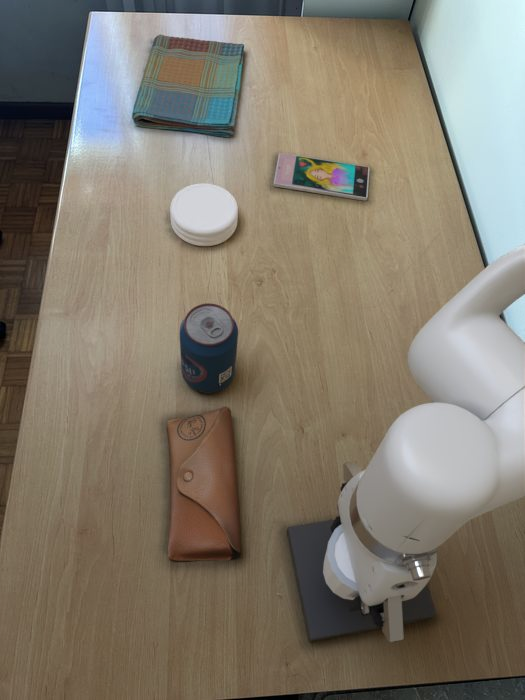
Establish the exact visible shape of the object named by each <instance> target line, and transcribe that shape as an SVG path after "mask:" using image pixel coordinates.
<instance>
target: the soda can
mask: <svg viewBox="0 0 525 700" xmlns="http://www.w3.org/2000/svg"><path fill="white" fill-rule="evenodd" d="M238 340H239V328H238V324H237V322H236V321H235V318H234V317H233V316H232V314H231V313H230V311H229V310H227V309H226V308H225V307H224V306H222V305H219V304H217V303H210V302H209V303H201V304H199V305H196V306H194V307H193V308H191V309H190V310H189V311H188V312H187V314H186V316H185V317H184V318H183V320H182V321H181V322H180V326H179V348H180V351H179V352H180V368H181V375H182V378H183V381H184V382H185V383H186V384H187V385H188V386H189V387H190V388H191V389H193V390H195V391H197V392H200V393H204V394H205V393H208V394H209V393H210V394H211V393H217V392H220V391H222V390H224V389H225V388H227V387H228V386H229V385H230V384H231V383H232V381H233V380H234V377H235V375H236V368H237V367H236V365H237V352H238Z"/></svg>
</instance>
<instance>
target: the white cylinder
mask: <svg viewBox="0 0 525 700" xmlns="http://www.w3.org/2000/svg"><path fill="white" fill-rule="evenodd" d="M323 574H324V578H325V581H326V584H327V585H328V586H329V588H330V589H331V590H332V591H333V593H335V594H337V595H338V596H340V597H341V598H343V599H350V600H353V599H354V598H355V597H357V596H360V595H359V592H358V588H357V585H356V581H355V577H354V573H353V569H352V565H351V561H350V557H349V553H348V549H347V544H346V540H345V536H344V532H343V528H342V524H341V525H340V526H338V527H337V528H336V529H335V530H334V532H333V534H332V536H331V538H330V540H329V542H328V546H327V550H326V555H325V559H324V566H323Z"/></svg>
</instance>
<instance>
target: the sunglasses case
mask: <svg viewBox="0 0 525 700" xmlns="http://www.w3.org/2000/svg"><path fill="white" fill-rule="evenodd" d="M233 425H234V424H233V416H232V410H231V408H230V407H228V406H223V407H221V408H218V409H214V410H210V411H207V412H203V413H199V414H195V415H191V416H189V417H180V418H179V417H178V418H177V417H175V418H170V419H168V420H167V421H166V433H167V443H168V455H169V458H168V459H169V524H168V525H169V528H168V529H169V530H168V541H167V558H168V559H169V560H171V561H173V562H188V563H189V562H214V561H216V562H217V561H233V560H236V559H238V558H240V557H241V556H242V555H243V552H242V534H241V518H240V517H241V516H240V502H239V490H238V489H239V488H238V477H237V461H236V449H235V435H234V426H233Z"/></svg>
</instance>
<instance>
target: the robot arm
mask: <svg viewBox="0 0 525 700" xmlns="http://www.w3.org/2000/svg"><path fill="white" fill-rule="evenodd" d="M524 295H525V243H523V244H522V245H521V244H520V245H519V246H517V247H516V248H513V249H511V250H509V251H508V252H505V254H503V255H501V256H500V257H497V259H496V260H494V261H492V262H491V263H490V264H488V265H487V266H486V267H484V268H483V270H481V271H480V272H479V273H477V275H476V276H474V278H472V279H471V280H470V281H469V282H468V283H467V284H466V285H464V287H463V288H461V289H460V290H459V291H458V292H457V293H456V294H455V295H454V296H453V297H452V298H451V299H449V300H448V301H447V302H446V303H445V304H444V305H443V306H442V307H441V308H439V310H438V311H436V313H434V314H433V316H432V317H431V318H430V319H429V320H428V321H426V323H425V324H424V325H423V326H422V327H421V328H420V330H419V331H418V332H417V334H416V335H415V337H414V338H413V340H412V342H411V343H410V345H409V348H408V350H407V367H408V371H409V373H410V375H411V377H412V379H413V380H414V382H415V384H417V386H418V387H419V388H420V390H421V391H422V392H423V393H424V394H425V395H426V396H427V398H428V399H429V400H430V401H431V402H425V403H422V404H418V405H415V406H413V407H411V408H409V409H407V410H406V411H404V412H402V413H401V414H399V416H398V417H396V419H395V420H394V421H393V423H391V425H390V426H389V428H388V430H387V432H386V433H385V435H384V437H383V438H382V440H381V442H380V443H379V445H378V447H377V449H376V451H375V452H374V454H373V456H372V457H371V459H370V461H369V463H368V465H367V466H366V468H365V469H362V468H361V466H360V465H359V463H358V462H357V461H349V462H344V463H343V465H342V469H343V470H342V471H343V472H342V473H343V475H342V477H343V481H344V482H343V483H341V486H340V494H339V496H338V500H337V505H336V509H337V515H338V516H336V517H335V519H333V520H334V522H333V524H332V526H331V527H330V528H331V533H333V532H334V530H335V529H336V528H337V527H338V526H340V525H341V524H342V528H343V532H344V536H345V540H346V544H347V549H348V553H349V557H350V561H351V565H352V569H353V573H354V577H355V581H356V585H357V588H358V592H359V595H360V596H357V597H355V598H354V599H353V600H352V601H351V602H350V605H349V609H350V612H352V611H358V610H361V614H362V616H368V615H371V617H372V619H373V622H374V624H375V625H376V626H377V628H380V629H381V632H382V633H383V635H384V637H385V639H386V640H387V642H388V643H394V642H399V641H403V640H404V639H405V637H404V624H403V616H402V601H405V600H409V599H412V598H414V597H415V596H416V595H417V594H418V593H419V592H420V591H421V590H422V589H423V588H424V587H425V585H426V584H427V585H428V583H429V581H430V580H431V578H432V576H433V574H434V571H435V569H436V565H437V561H438V554H437V552H438V548H439V547H440V546H442V545H443V544H444V543H445V542H446V541H447V540H448V539H449V538H451V537H452V536H453V535H454V534H455V533H457V531H459V530H460V529H461V528H462V527H463V526H464V525H465V524H466V523H468V522H469V521H471V520H473V519H475V518H477V517H480V516H483V515H484V514H486V513H488V512H490V511H493V510H495V509H499V508H500V507H502V506H505V505H507V504H510V503H511V502H512V503H513V502H514V501H517V500H519V499H521V498H524V497H525V341H524V340H523V339H522V338H521V337H520V336H519V335H518V333H516V332H515V331H514V330H513V328H511V327H510V326H509V325H508V324H507V323H506V322H505V321H504V320H503V319H502V318H501V317H500V316H501V315H502V313H503V312H505V311H506V310H507V308H509V307H510V306H511V305H513V303H515V302H516V301H518V300H519V299H520V298H521V297H523V296H524ZM381 627H382V628H381Z"/></svg>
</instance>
